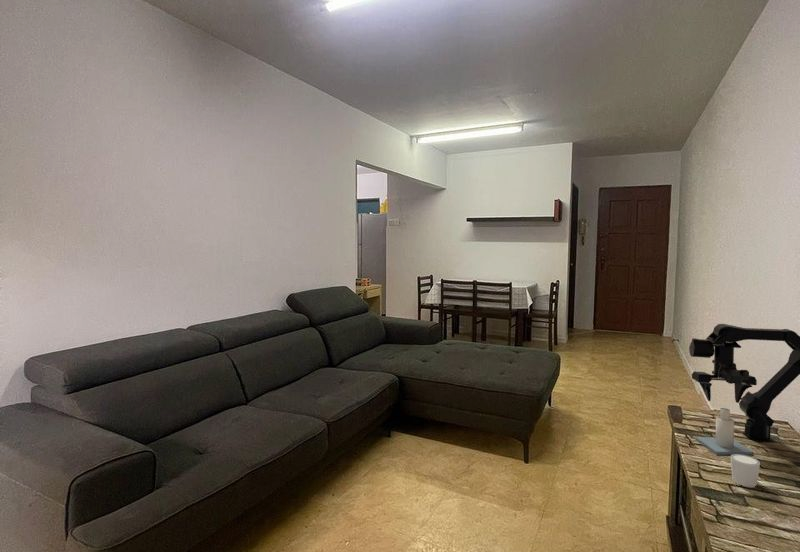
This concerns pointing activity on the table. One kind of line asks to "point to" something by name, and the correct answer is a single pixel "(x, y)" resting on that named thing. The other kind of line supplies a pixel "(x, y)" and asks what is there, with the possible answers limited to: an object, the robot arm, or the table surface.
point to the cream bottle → (725, 429)
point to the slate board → (712, 446)
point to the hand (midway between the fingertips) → (723, 401)
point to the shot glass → (744, 470)
